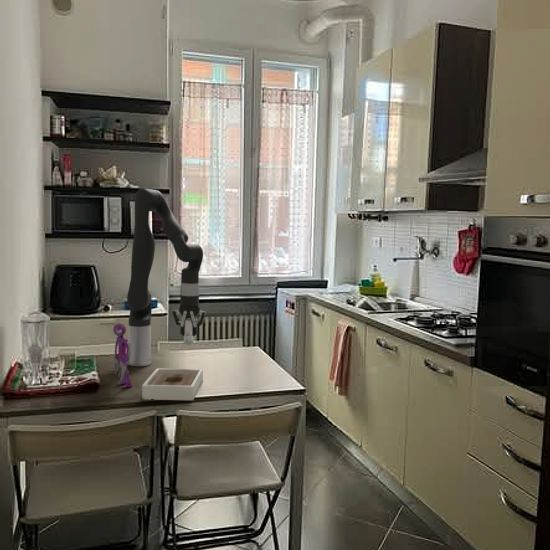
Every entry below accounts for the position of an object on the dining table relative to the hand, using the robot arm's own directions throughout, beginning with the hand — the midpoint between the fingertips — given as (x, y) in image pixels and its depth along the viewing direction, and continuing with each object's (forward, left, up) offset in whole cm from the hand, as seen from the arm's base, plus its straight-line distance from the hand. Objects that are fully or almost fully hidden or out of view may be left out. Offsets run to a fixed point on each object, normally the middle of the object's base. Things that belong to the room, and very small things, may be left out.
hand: (188, 335), depth 231 cm
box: (-2, -22, -16) cm, 27 cm away
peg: (0, 0, -3) cm, 3 cm away
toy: (-23, -19, -16) cm, 34 cm away
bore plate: (-2, -22, -16) cm, 27 cm away
